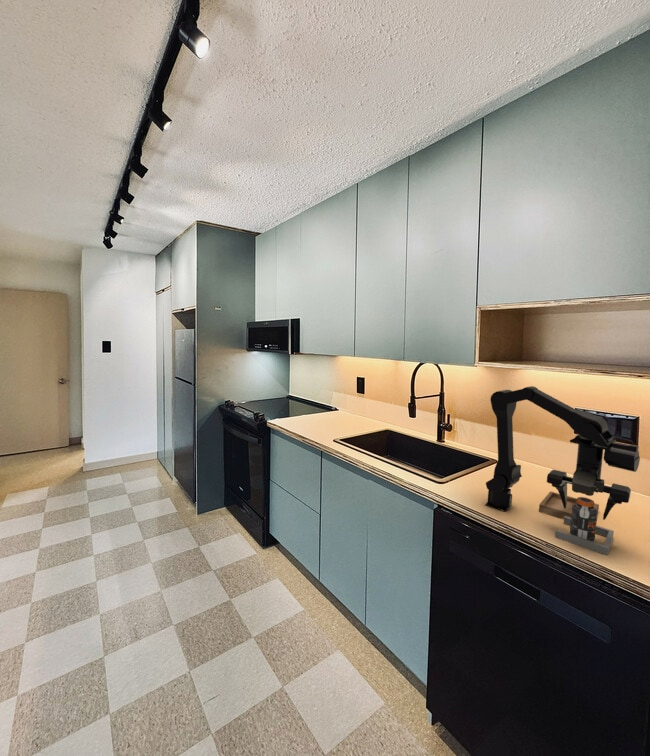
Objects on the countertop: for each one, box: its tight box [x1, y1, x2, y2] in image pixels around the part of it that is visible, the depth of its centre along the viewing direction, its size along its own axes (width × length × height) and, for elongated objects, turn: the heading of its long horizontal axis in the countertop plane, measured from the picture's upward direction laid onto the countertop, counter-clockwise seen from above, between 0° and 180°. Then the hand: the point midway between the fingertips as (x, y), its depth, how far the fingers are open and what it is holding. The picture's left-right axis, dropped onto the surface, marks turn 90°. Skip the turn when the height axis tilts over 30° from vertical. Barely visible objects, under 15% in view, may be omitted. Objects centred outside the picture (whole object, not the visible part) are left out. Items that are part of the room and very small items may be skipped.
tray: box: [538, 491, 600, 520], centre depth 118 cm, size 14×14×2 cm
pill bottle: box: [569, 496, 599, 542], centre depth 103 cm, size 6×6×11 cm
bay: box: [554, 516, 615, 556], centre depth 103 cm, size 12×12×2 cm
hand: (584, 513), depth 103 cm, fingers open, 9 cm apart
